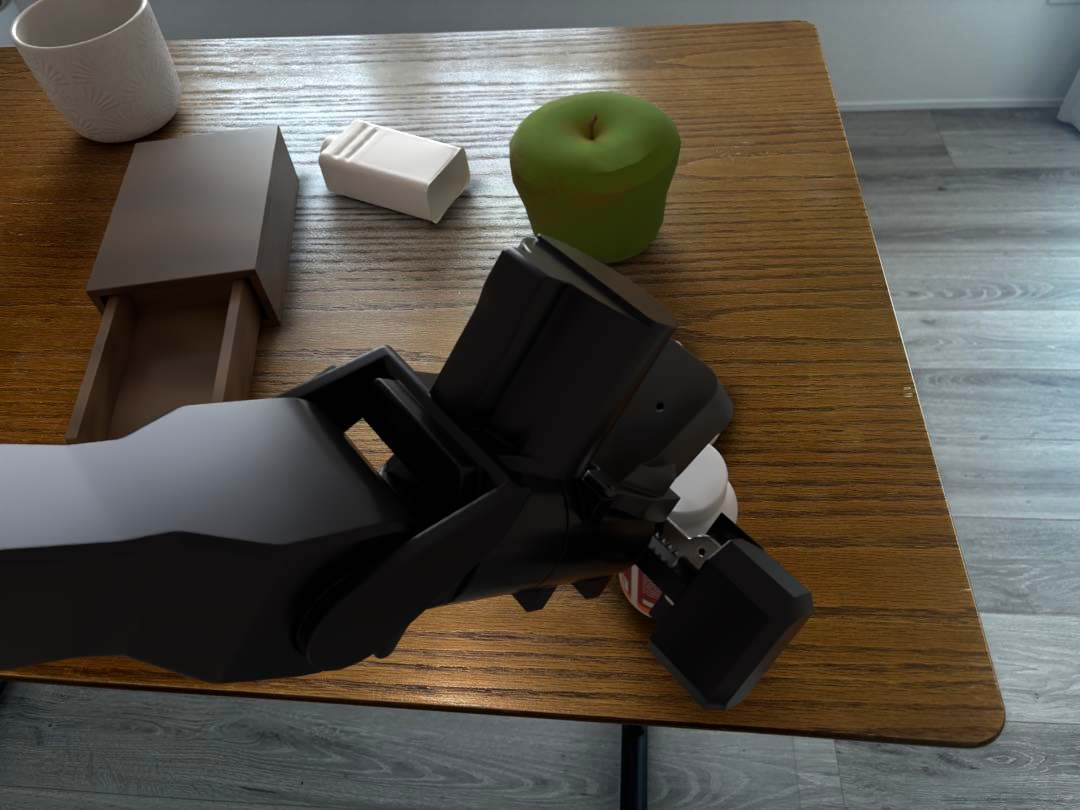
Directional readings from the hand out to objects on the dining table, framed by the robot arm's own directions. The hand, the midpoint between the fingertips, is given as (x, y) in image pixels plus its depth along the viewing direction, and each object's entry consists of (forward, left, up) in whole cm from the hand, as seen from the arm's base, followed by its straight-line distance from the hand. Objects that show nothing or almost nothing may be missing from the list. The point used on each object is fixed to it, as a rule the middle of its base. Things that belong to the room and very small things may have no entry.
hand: (694, 504), depth 45 cm
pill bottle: (-1, +1, -7) cm, 7 cm away
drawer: (+2, +37, -6) cm, 38 cm away
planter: (+33, +65, -7) cm, 73 cm away
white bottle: (+29, +33, -7) cm, 44 cm away
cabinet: (+17, +44, -7) cm, 47 cm away
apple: (+27, +14, -7) cm, 31 cm away
